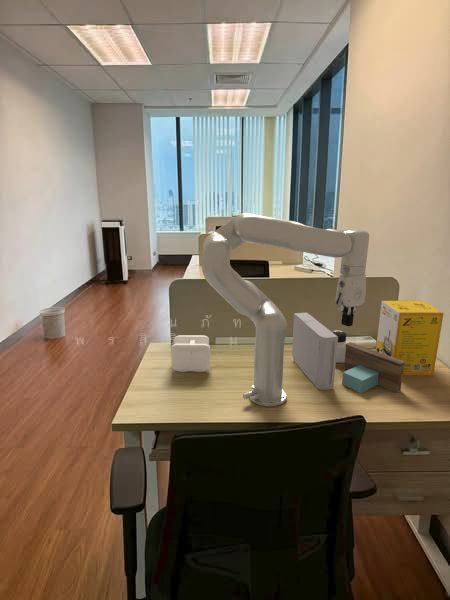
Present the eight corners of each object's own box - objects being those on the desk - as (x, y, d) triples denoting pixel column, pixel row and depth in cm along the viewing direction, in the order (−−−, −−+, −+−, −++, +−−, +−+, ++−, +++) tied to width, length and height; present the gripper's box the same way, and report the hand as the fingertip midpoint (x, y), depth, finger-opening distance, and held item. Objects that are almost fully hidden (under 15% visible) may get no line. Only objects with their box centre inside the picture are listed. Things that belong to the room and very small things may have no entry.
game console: (318, 390, 136) (322, 338, 131) (291, 358, 162) (293, 313, 156) (333, 389, 137) (338, 336, 132) (304, 357, 163) (307, 312, 157)
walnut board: (396, 393, 135) (400, 364, 132) (343, 370, 151) (345, 344, 148) (401, 390, 137) (405, 361, 133) (348, 368, 153) (350, 342, 150)
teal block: (360, 393, 135) (362, 380, 133) (341, 384, 141) (343, 372, 140) (377, 385, 141) (378, 372, 139) (358, 376, 147) (359, 364, 145)
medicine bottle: (347, 362, 158) (350, 335, 154) (329, 362, 158) (332, 335, 155) (342, 355, 165) (345, 329, 161) (325, 355, 165) (328, 329, 161)
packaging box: (374, 357, 163) (381, 300, 156) (413, 357, 163) (422, 300, 156) (390, 375, 148) (398, 312, 141) (433, 375, 148) (443, 313, 141)
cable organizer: (211, 361, 159) (211, 335, 156) (210, 373, 149) (210, 345, 146) (175, 361, 159) (174, 335, 156) (171, 373, 149) (170, 345, 146)
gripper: (348, 275, 115) (342, 333, 120) (377, 269, 123) (370, 323, 128) (327, 270, 120) (322, 326, 126) (356, 265, 129) (350, 317, 134)
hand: (346, 324), depth 127 cm, fingers closed
